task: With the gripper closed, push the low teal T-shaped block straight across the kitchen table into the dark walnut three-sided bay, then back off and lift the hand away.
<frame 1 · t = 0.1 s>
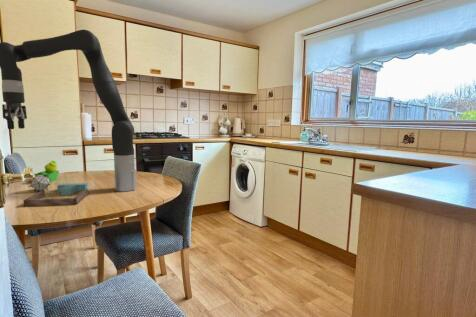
hand: (16, 128, 127), 29 cm above the table, tool pointing down, fingers open, 8 cm apart
game die: (40, 191, 135), on the table
teal T block: (70, 192, 134), on the table
walnut bay: (59, 199, 121), on the table
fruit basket: (48, 182, 154), on the table
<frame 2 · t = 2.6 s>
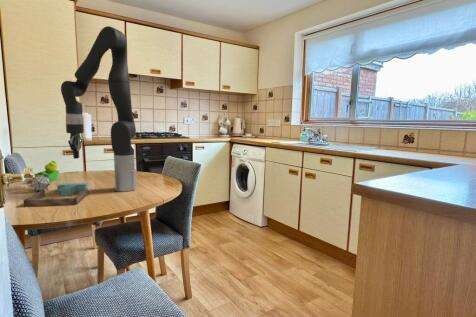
hand: (76, 158, 142), 14 cm above the table, tool pointing down, fingers closed
nothing on the table moved.
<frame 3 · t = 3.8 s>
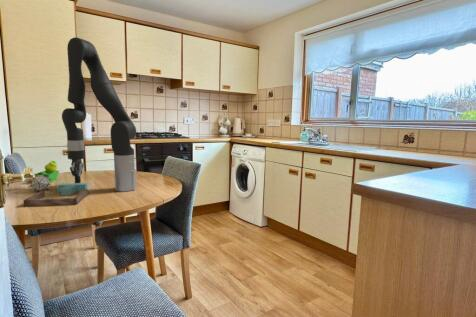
hand: (77, 183, 144), 2 cm above the table, tool pointing down, fingers closed
nothing on the table moved.
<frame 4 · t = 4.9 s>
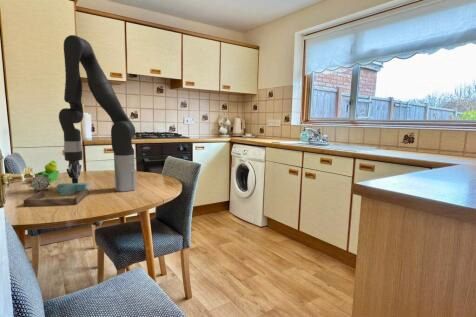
hand: (75, 185, 140), 2 cm above the table, tool pointing down, fingers closed
teal T block: (70, 192, 133), on the table, touching gripper
everything else where it was.
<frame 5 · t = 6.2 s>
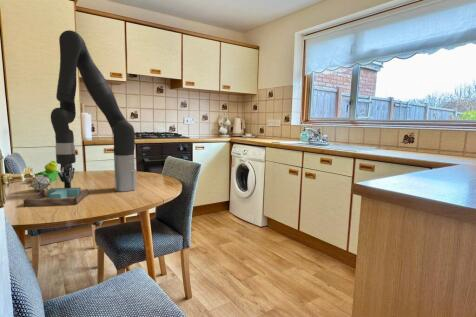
hand: (67, 190, 131), 2 cm above the table, tool pointing down, fingers closed
teal T block: (61, 197, 124), on the table, touching gripper
everything else where it was.
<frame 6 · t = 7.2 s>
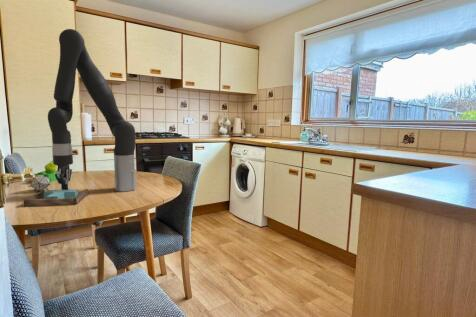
hand: (65, 192, 128), 2 cm above the table, tool pointing down, fingers closed
teal T block: (58, 199, 121), on the table, touching gripper
everything else where it was.
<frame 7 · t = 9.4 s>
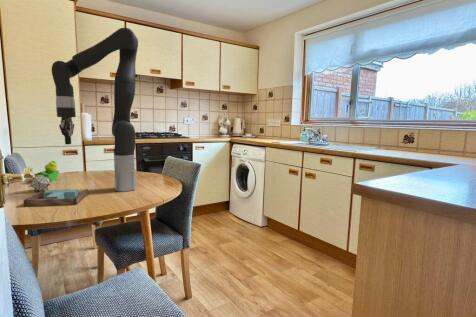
hand: (68, 144, 134), 22 cm above the table, tool pointing down, fingers closed
teal T block: (58, 200, 121), on the table
everything else where it was.
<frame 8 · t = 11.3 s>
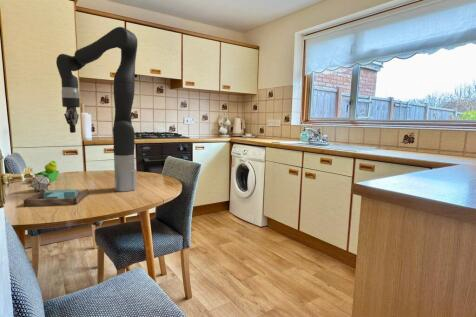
hand: (72, 132, 143), 27 cm above the table, tool pointing down, fingers closed
nothing on the table moved.
at the end: teal T block 0.7 cm off-centre on the walnut bay, point 0.0 cm above the walnut bay's base; teal T block moved 13.1 cm from its start; the gripper is holding nothing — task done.
